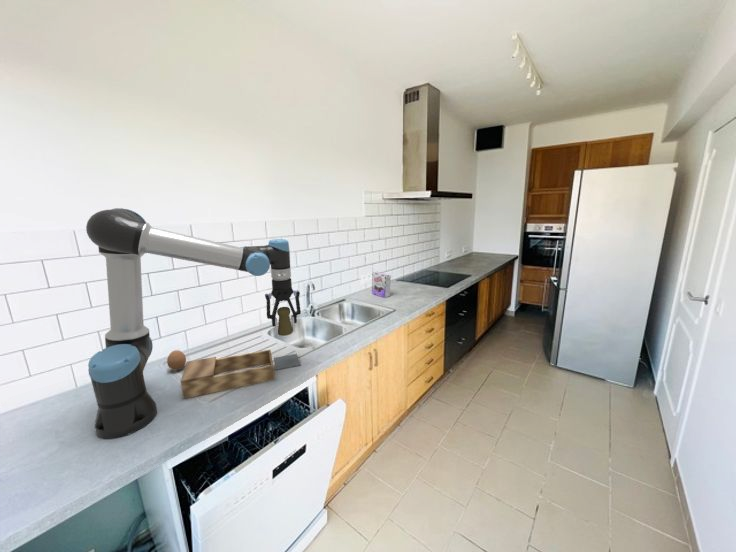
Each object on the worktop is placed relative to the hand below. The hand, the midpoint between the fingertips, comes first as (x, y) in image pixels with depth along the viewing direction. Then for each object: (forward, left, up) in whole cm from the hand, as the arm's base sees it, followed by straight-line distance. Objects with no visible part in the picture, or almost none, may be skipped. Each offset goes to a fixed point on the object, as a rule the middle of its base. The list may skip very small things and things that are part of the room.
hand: (285, 331), depth 124 cm
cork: (0, 0, -1) cm, 1 cm away
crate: (-22, -5, -14) cm, 26 cm away
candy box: (+77, +70, -14) cm, 105 cm away
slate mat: (0, 0, -14) cm, 14 cm away
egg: (-42, +11, -14) cm, 46 cm away
